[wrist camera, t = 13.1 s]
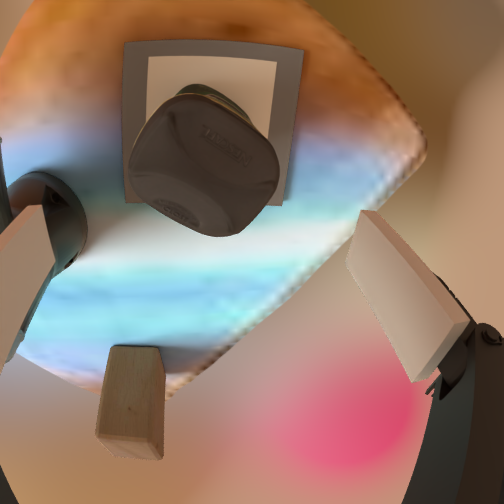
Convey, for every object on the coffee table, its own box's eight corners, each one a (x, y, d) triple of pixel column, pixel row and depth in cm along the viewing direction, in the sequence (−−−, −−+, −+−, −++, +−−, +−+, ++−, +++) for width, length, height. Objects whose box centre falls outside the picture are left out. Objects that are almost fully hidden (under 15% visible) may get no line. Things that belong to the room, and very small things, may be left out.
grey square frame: (127, 199, 37) (125, 203, 36) (127, 43, 26) (123, 42, 25) (280, 202, 40) (282, 206, 39) (301, 50, 29) (304, 50, 28)
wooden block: (159, 345, 53) (153, 444, 36) (166, 374, 58) (164, 462, 42) (109, 343, 51) (92, 438, 35) (121, 372, 57) (111, 457, 40)
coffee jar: (151, 130, 31) (97, 193, 16) (191, 73, 28) (168, 72, 13) (220, 173, 35) (230, 267, 20) (261, 120, 32) (312, 173, 17)
